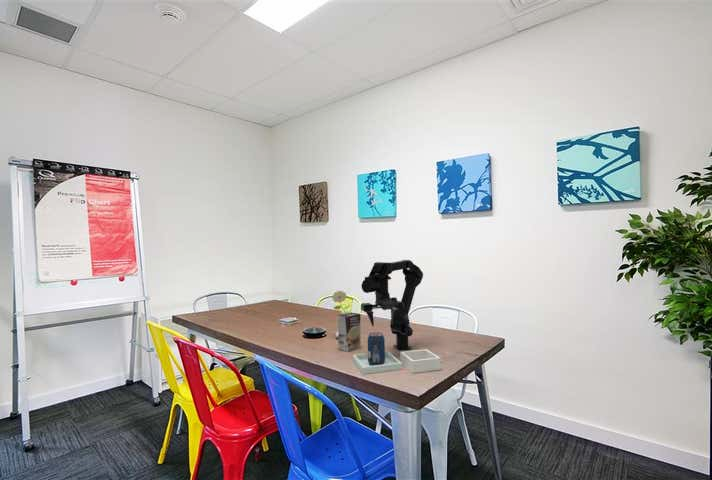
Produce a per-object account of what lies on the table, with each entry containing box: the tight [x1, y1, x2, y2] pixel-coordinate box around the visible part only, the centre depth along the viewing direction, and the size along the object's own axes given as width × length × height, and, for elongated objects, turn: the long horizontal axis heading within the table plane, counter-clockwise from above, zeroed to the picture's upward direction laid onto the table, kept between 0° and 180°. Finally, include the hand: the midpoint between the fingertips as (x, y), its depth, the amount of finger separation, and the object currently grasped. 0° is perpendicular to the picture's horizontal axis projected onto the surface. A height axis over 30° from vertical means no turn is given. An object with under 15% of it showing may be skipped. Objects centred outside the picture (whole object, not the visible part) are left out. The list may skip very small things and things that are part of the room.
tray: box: [352, 350, 403, 375], centre depth 139 cm, size 16×16×2 cm
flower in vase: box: [331, 290, 351, 338], centre depth 181 cm, size 13×11×25 cm
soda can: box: [367, 331, 386, 366], centre depth 139 cm, size 7×7×12 cm
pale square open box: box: [399, 348, 442, 374], centre depth 136 cm, size 12×12×4 cm
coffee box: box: [337, 312, 362, 352], centre depth 162 cm, size 9×6×16 cm
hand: (382, 325), depth 151 cm, fingers open, 9 cm apart
